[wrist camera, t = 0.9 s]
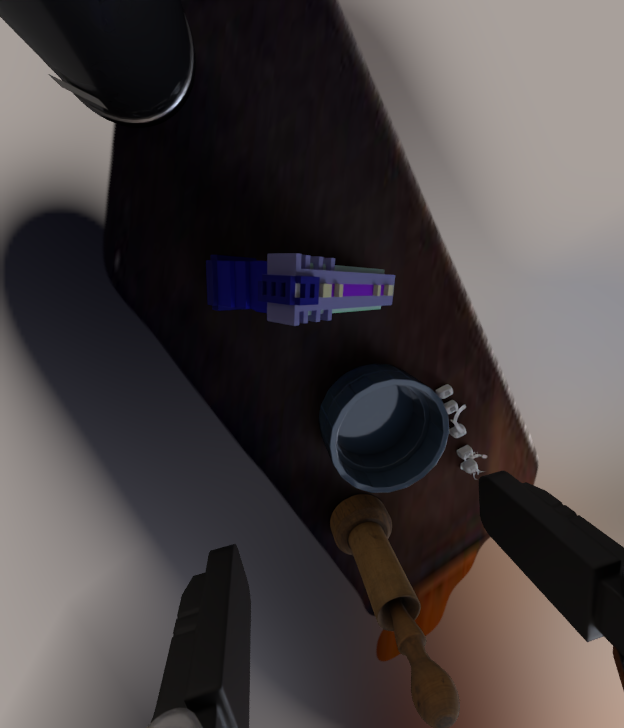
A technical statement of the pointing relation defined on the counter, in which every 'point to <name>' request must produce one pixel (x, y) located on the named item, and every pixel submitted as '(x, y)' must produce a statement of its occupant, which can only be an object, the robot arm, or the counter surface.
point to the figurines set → (459, 431)
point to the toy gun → (295, 287)
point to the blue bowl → (382, 428)
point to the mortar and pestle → (394, 602)
